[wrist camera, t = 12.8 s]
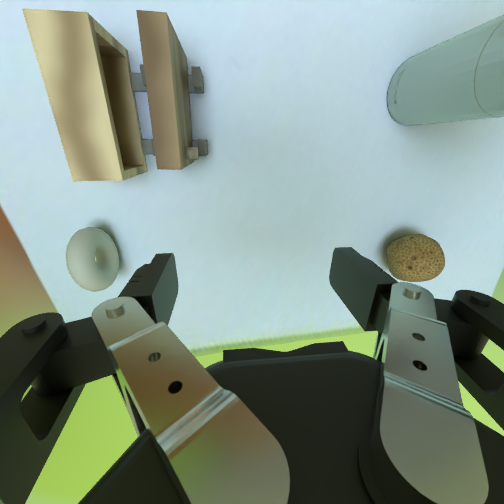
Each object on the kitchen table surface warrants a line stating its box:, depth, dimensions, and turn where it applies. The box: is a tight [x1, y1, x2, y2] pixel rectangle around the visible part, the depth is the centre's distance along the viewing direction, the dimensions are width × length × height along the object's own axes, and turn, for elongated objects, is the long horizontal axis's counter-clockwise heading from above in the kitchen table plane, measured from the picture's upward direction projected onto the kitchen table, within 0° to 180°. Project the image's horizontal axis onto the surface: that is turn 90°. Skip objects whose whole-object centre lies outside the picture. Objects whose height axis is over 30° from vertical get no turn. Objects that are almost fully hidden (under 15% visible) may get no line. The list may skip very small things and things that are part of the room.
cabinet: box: [22, 9, 208, 181], centre depth 30 cm, size 15×15×10 cm
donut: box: [66, 227, 119, 291], centre depth 37 cm, size 10×4×10 cm, turn 6°
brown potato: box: [387, 234, 445, 282], centre depth 43 cm, size 9×9×10 cm
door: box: [137, 10, 198, 170], centre depth 29 cm, size 4×13×12 cm, turn 179°
